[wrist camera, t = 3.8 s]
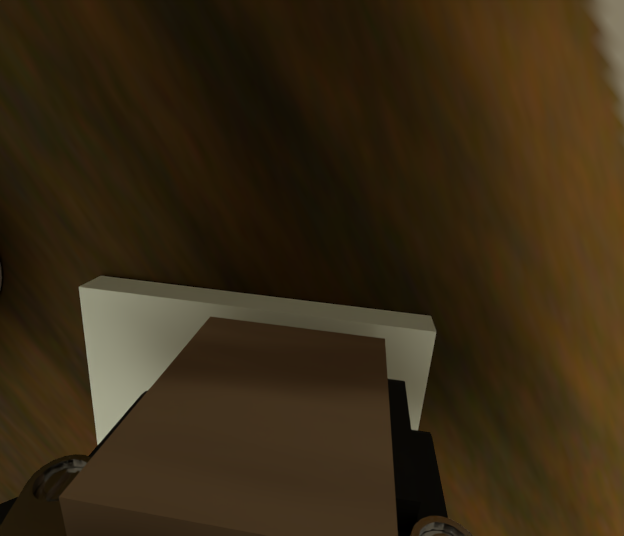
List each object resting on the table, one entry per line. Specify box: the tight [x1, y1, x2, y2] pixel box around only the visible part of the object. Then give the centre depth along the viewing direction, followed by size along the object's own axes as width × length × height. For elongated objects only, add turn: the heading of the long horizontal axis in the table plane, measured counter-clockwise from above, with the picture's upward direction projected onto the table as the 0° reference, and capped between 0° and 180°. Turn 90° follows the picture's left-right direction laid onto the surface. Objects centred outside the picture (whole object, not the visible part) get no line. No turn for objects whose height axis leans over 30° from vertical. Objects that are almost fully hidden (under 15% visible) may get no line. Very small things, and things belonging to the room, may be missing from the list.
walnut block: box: [59, 316, 398, 536], centre depth 9 cm, size 5×5×6 cm
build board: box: [79, 276, 436, 444], centre depth 16 cm, size 16×12×1 cm
